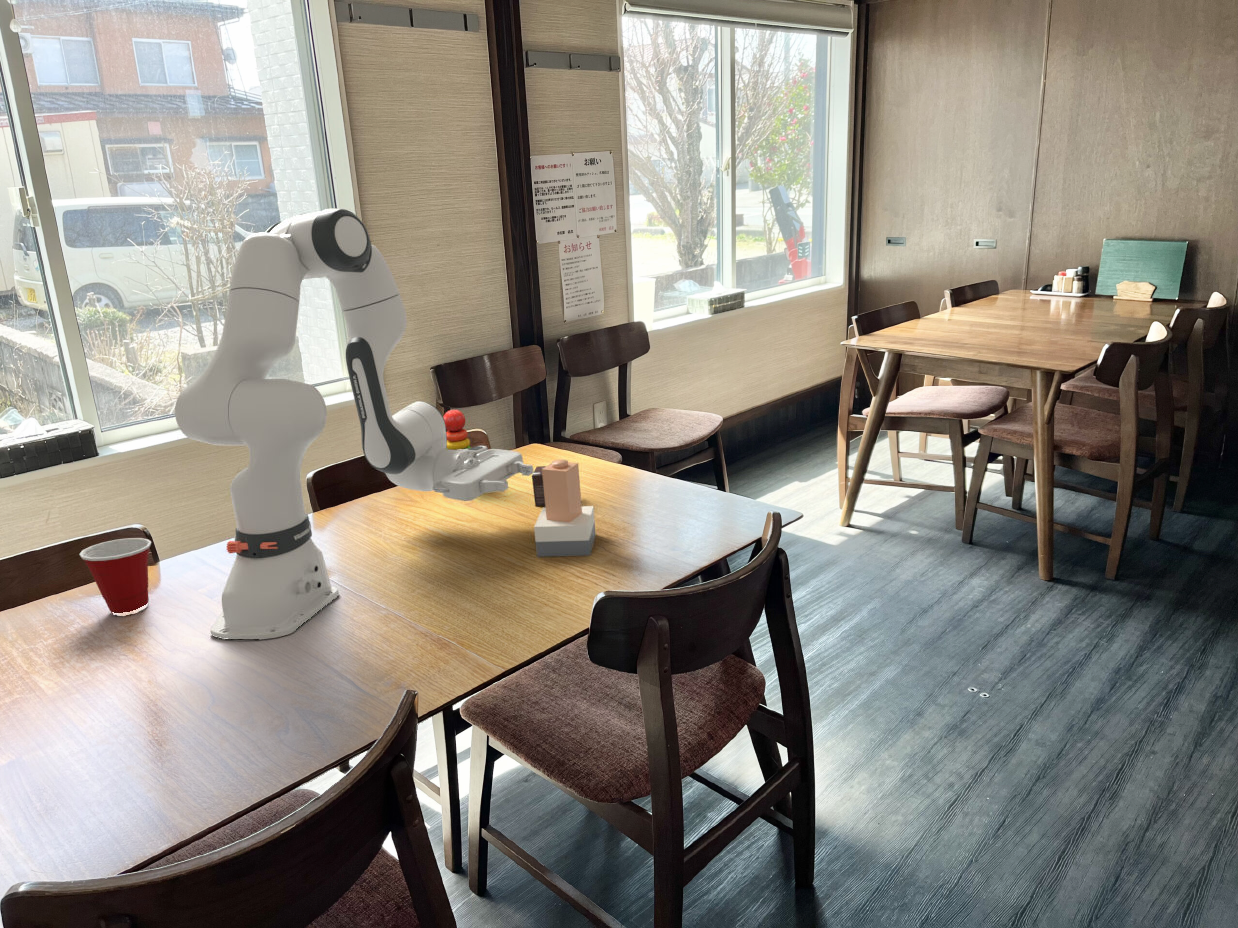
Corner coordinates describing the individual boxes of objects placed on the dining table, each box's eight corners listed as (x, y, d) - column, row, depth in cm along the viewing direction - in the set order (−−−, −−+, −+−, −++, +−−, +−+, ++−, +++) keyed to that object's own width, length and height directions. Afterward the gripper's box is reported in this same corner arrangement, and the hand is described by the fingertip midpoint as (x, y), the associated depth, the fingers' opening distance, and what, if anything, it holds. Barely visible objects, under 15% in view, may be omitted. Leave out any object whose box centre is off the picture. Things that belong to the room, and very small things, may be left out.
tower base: (590, 555, 166) (587, 525, 164) (537, 556, 167) (534, 526, 165) (595, 534, 176) (593, 506, 174) (545, 536, 176) (542, 507, 175)
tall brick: (570, 522, 166) (565, 467, 163) (546, 519, 168) (541, 465, 165) (582, 512, 171) (577, 459, 167) (559, 510, 173) (554, 457, 169)
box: (566, 496, 198) (563, 465, 196) (562, 506, 192) (559, 473, 190) (539, 497, 199) (536, 465, 197) (534, 506, 193) (531, 474, 191)
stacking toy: (470, 480, 213) (461, 403, 208) (487, 487, 207) (479, 409, 202) (441, 488, 209) (430, 410, 203) (458, 496, 203) (448, 416, 197)
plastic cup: (179, 597, 160) (164, 534, 156) (132, 625, 150) (116, 560, 146) (129, 593, 163) (114, 532, 159) (81, 621, 153) (63, 556, 149)
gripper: (425, 473, 167) (487, 479, 161) (484, 443, 184) (543, 447, 179) (429, 505, 169) (491, 512, 163) (488, 472, 186) (546, 477, 180)
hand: (519, 478), depth 171 cm, fingers open, 8 cm apart
